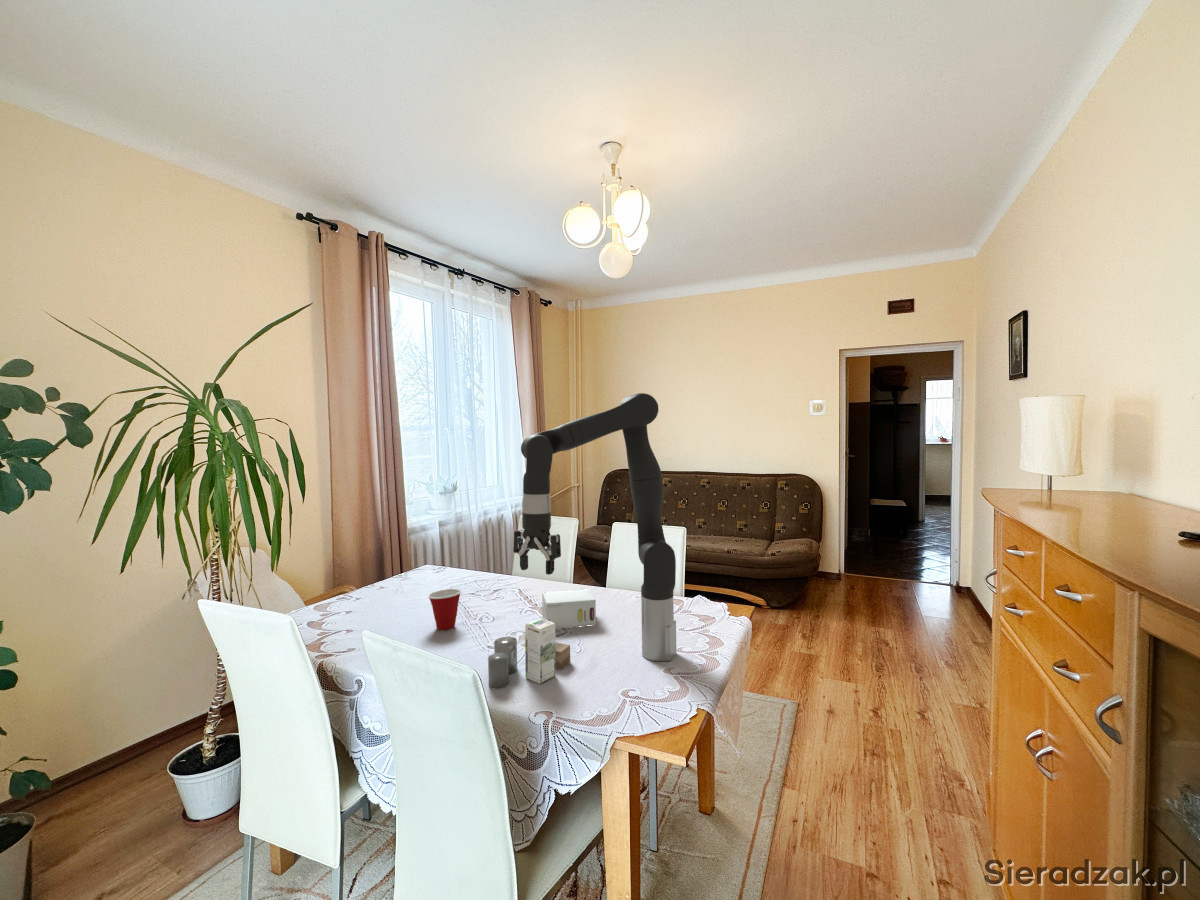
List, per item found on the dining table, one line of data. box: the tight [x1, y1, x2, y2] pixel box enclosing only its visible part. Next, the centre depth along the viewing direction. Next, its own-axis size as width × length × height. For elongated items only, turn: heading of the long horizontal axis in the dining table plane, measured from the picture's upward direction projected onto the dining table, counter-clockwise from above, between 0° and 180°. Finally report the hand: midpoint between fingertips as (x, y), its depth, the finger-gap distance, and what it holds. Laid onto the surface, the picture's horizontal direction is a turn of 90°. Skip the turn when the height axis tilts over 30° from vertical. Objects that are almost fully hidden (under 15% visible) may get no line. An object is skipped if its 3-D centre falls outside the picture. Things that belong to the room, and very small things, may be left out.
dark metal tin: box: [493, 636, 518, 676], centre depth 137 cm, size 6×6×8 cm
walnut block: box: [555, 641, 571, 671], centre depth 140 cm, size 5×5×5 cm
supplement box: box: [541, 588, 597, 630], centre depth 173 cm, size 17×13×9 cm
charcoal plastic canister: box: [487, 653, 509, 690], centre depth 129 cm, size 5×5×7 cm
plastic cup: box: [427, 588, 462, 631], centre depth 169 cm, size 11×11×12 cm
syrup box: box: [524, 618, 557, 685], centre depth 132 cm, size 6×6×14 cm
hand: (536, 571), depth 133 cm, fingers open, 8 cm apart
